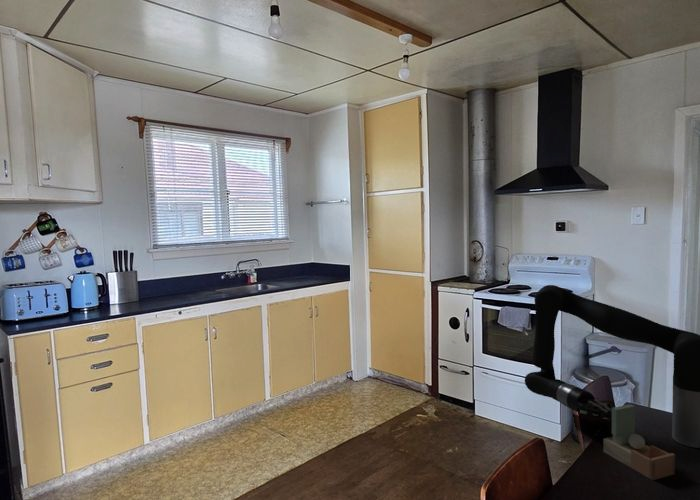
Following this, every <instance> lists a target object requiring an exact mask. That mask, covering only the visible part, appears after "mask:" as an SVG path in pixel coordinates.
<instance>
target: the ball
mask: <svg viewBox="0 0 700 500" xmlns="http://www.w3.org/2000/svg"><path fill="white" fill-rule="evenodd" d="M628 441H629V444H630V445H631V446H632V447H633V448H635V449H642V448H643V447H644V446H645V445H646V440H645V439H644V437H643V436H642V435H640V434H637V433H636V434H632V435H630V436H629V439H628Z"/></svg>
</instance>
